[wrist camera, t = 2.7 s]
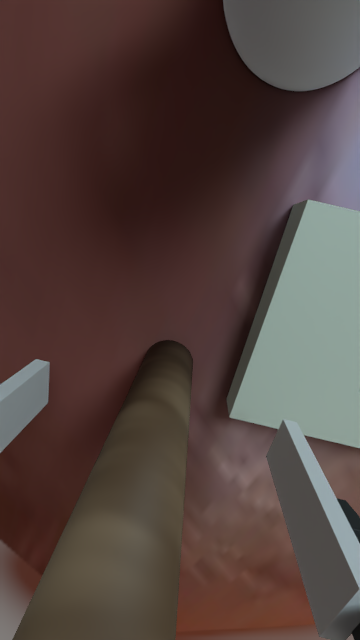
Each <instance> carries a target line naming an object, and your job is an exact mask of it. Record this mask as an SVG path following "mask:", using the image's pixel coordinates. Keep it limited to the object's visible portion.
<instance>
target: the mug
mask: <svg viewBox="0 0 360 640" xmlns="http://www.w3.org/2000/svg"><path fill="white" fill-rule="evenodd" d="M223 6H224V13H225V19H226V23H227V27H228V30H229V34H230V36H231V39H232V42H233V44H234V46H235V48H236V50H237V52H238V54H239V55H240V57H241V59H242V60H243V61H244V63H245V64H246V65H247V67H248V68H249V69H250V70H251V71H252V72H253V73H254V74H255V75H256V76H258V77H259V78H260V79H262V80H263V81H265V82H266V83H268V84H270V85H272V86H275V87H277V88H280V89H284V90H289V91H309V90H315V89H319V88H323V87H326V86H328V85H331V84H333V83H335V82H337V81H339V80H341V79H343V78H345V77H346V76H348V75H349V74H351V73H352V72H354V71H355V70H357V69H358V68H359V67H360V0H223Z"/></svg>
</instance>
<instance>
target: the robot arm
mask: <svg viewBox="0 0 360 640" xmlns="http://www.w3.org/2000/svg"><path fill="white" fill-rule="evenodd" d="M49 364H50V362H46V361H42V360H38V359H36V360H34V361H33V362H31V363H30V364H29V365H27V366H26V367H24V368H23V369H22V370H20V371H19V372H17V373H16V374H15V375H13V376H12V377H10V378H9V379H8V380H6V381H5V382H3V383H2V384H1V385H0V453H1V452H2V451H3V449H4V448H5V447H6V446H7V445H8V444H9V443H10V442H11V441H12V440H13V439H14V438H15V437H16V436H17V435H18V434H19V433H20V432H21V431H22V430H23V428H24V427H25V426H26V425H27V424H28V423H29V422H30V421H31V420H32V419H33V418H34V417H35V416H36V415H37V414H38V413H39V412H40V411H41V410H42V409H43V407H44V406H45V405H46V404H47V403H48V391H49ZM266 457H267V460H268V464H269V467H270V471H271V474H272V477H273V481H274V484H275V488H276V491H277V495H278V498H279V501H280V505H281V508H282V512H283V515H284V518H285V522H286V525H287V529H288V532H289V535H290V539H291V542H292V546H293V549H294V552H295V556H296V559H297V563H298V566H299V570H300V573H301V576H302V580H303V583H304V587H305V590H306V593H307V597H308V600H309V604H310V607H311V610H312V614H313V617H314V621H315V624H316V627H317V631H318V634H319V637H323V638H326V639H331V640H346V639H347V638H348V637H349V636H350V635H351V634H352V635H353V637H354V640H360V518H359V516H358V515H357V513H356V512H355V511H354V510H353V509H352V507H351V506H350V505H349V504H348V503H347V502H346V501H345V500H341V499H337V498H336V497H335V495H334V493H333V491H332V489H331V487H330V485H329V483H328V481H327V479H326V477H325V475H324V474H323V472H322V470H321V468H320V466H319V464H318V462H317V460H316V458H315V456H314V454H313V452H312V450H311V448H310V446H309V444H308V443H307V441H306V439H305V437H304V435H303V433H302V431H301V429H300V427H299V425H298V423H297V422H294V421H289V420H285V419H283V420H282V423H281V425H280V427H279V429H278V431H277V434H276V436H275V438H274V440H273V442H272V445H271V447H270V449H269V451H268V453H267V456H266Z"/></svg>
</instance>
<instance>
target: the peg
mask: <svg viewBox="0 0 360 640" xmlns="http://www.w3.org/2000/svg"><path fill="white" fill-rule="evenodd" d="M192 369H193V359H192V356H191V354H190V352H189V350H188V349H187V348H186V347H185V346H183V345H182V344H180V343H178V342H175V341H170V340H166V341H160V342H158V343H155V344H154V345H153V346H151V347H150V349H149V350H148V352H147V354H146V356H145V358H144V360H143V362H142V364H141V367H140V369H139V371H138V373H137V375H136V377H135V379H134V381H133V384H132V386H131V388H130V390H129V392H128V394H127V396H126V399H125V401H124V403H123V405H122V407H121V409H120V411H119V413H118V416H117V418H116V420H115V422H114V424H113V426H112V428H111V431H110V433H109V435H108V437H107V439H106V441H105V443H104V445H103V448H102V450H101V452H100V454H99V456H98V458H97V460H96V463H95V465H94V467H93V469H92V471H91V473H90V475H89V477H88V480H87V482H86V484H85V486H84V488H83V490H82V492H81V495H80V497H79V499H78V501H77V503H76V505H75V507H74V509H73V512H72V514H71V516H70V518H69V520H68V522H67V524H66V527H65V529H64V531H63V533H62V535H61V537H60V539H59V541H58V544H57V546H56V548H55V550H54V552H53V554H52V556H51V559H50V561H49V563H48V565H47V567H46V569H45V571H44V573H43V576H42V578H41V580H40V582H39V584H38V586H37V589H36V591H35V593H34V595H33V597H32V599H31V601H30V603H29V606H28V608H27V610H26V612H25V614H24V616H23V618H22V620H21V623H20V625H19V627H18V629H17V631H16V633H15V635H14V638H13V640H175V636H176V621H177V605H178V589H179V574H180V558H181V542H182V527H183V511H184V495H185V479H186V464H187V448H188V432H189V416H190V401H191V385H192Z"/></svg>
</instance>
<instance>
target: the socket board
mask: <svg viewBox="0 0 360 640" xmlns="http://www.w3.org/2000/svg"><path fill="white" fill-rule="evenodd" d="M226 400H227V406H228V412H229V417H230V418H234V419H238V420H242V421H247V422H251V423H255V424H259V425H264V426H268V427H272V428H276V429H279V427H280V425H281V423H282V420H283V419H285V420H289V421H294V422H297V423H298V425H299V427H300V429H301V431H302V433H303V435H306V436H310V437H314V438H319V439H323V440H327V441H331V442H336V443H340V444H344V445H348V446H352V447H357V448H360V211H356V210H351V209H347V208H343V207H338V206H334V205H329V204H325V203H321V202H316V201H312V200H306V201H303V202H300V203H297V204H294V205H293V208H292V210H291V213H290V216H289V219H288V222H287V225H286V228H285V231H284V234H283V236H282V239H281V242H280V245H279V248H278V251H277V254H276V257H275V260H274V263H273V265H272V268H271V271H270V274H269V277H268V280H267V283H266V286H265V289H264V292H263V294H262V297H261V300H260V303H259V306H258V309H257V312H256V315H255V318H254V321H253V323H252V326H251V329H250V332H249V335H248V338H247V341H246V344H245V347H244V349H243V352H242V355H241V358H240V361H239V364H238V367H237V370H236V373H235V376H234V378H233V381H232V384H231V387H230V390H229V393H228V396H227V399H226Z"/></svg>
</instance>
